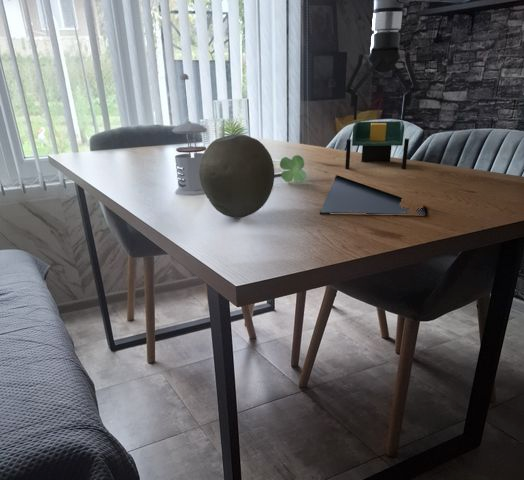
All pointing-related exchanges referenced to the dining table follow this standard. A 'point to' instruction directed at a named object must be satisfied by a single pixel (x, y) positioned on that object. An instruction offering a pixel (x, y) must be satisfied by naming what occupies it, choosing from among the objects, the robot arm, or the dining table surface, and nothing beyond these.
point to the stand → (376, 153)
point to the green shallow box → (391, 139)
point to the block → (378, 132)
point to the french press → (189, 157)
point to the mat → (361, 199)
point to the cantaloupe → (237, 175)
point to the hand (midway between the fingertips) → (378, 119)
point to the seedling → (293, 169)
